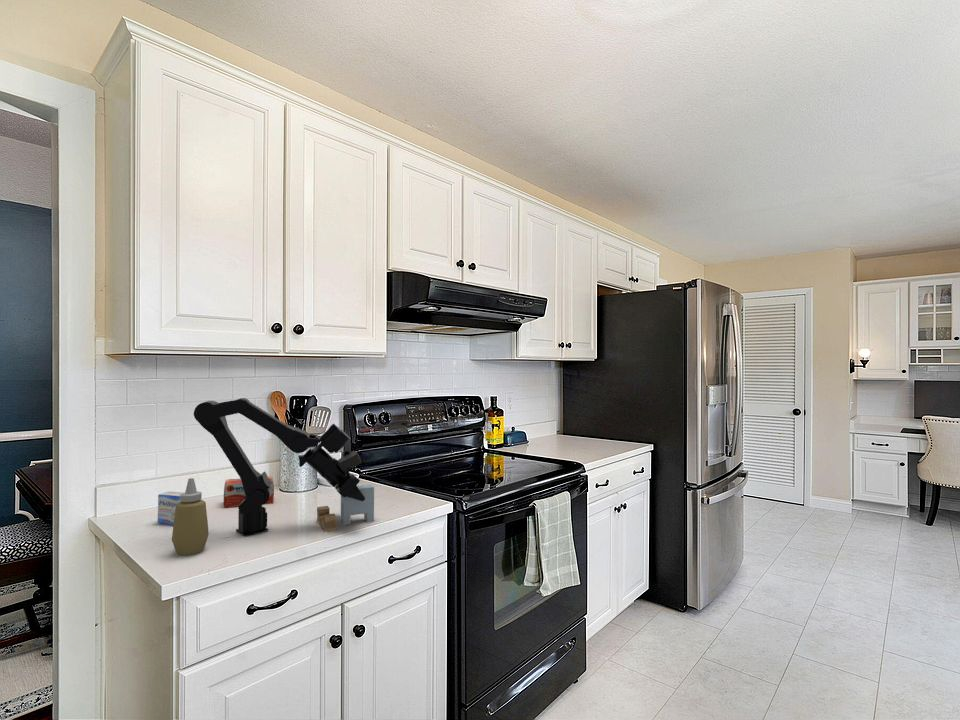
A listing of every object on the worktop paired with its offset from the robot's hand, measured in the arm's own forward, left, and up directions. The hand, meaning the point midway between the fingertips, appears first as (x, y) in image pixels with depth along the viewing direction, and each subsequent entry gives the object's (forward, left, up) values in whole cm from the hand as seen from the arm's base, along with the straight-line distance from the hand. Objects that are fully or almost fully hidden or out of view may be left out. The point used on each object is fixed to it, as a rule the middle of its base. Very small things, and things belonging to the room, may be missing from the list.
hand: (362, 498), depth 154 cm
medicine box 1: (-39, +38, -7) cm, 54 cm away
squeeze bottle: (-44, +10, -7) cm, 45 cm away
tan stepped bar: (-10, +4, -7) cm, 12 cm away
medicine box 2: (-14, +44, -7) cm, 47 cm away
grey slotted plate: (-1, 0, -7) cm, 7 cm away
